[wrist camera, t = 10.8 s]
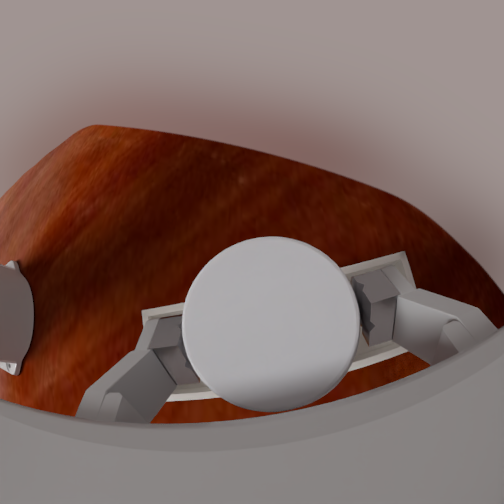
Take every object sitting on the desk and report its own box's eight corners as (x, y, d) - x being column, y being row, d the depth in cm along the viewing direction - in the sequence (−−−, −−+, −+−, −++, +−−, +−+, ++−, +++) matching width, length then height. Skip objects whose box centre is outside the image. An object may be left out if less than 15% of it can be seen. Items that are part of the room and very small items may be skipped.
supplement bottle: (260, 395, 14) (212, 470, 5) (219, 312, 16) (125, 270, 6) (346, 352, 14) (428, 365, 5) (302, 270, 16) (315, 173, 7)
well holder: (176, 393, 24) (156, 401, 20) (163, 315, 27) (141, 310, 22) (408, 343, 22) (428, 342, 18) (388, 264, 25) (404, 250, 21)
